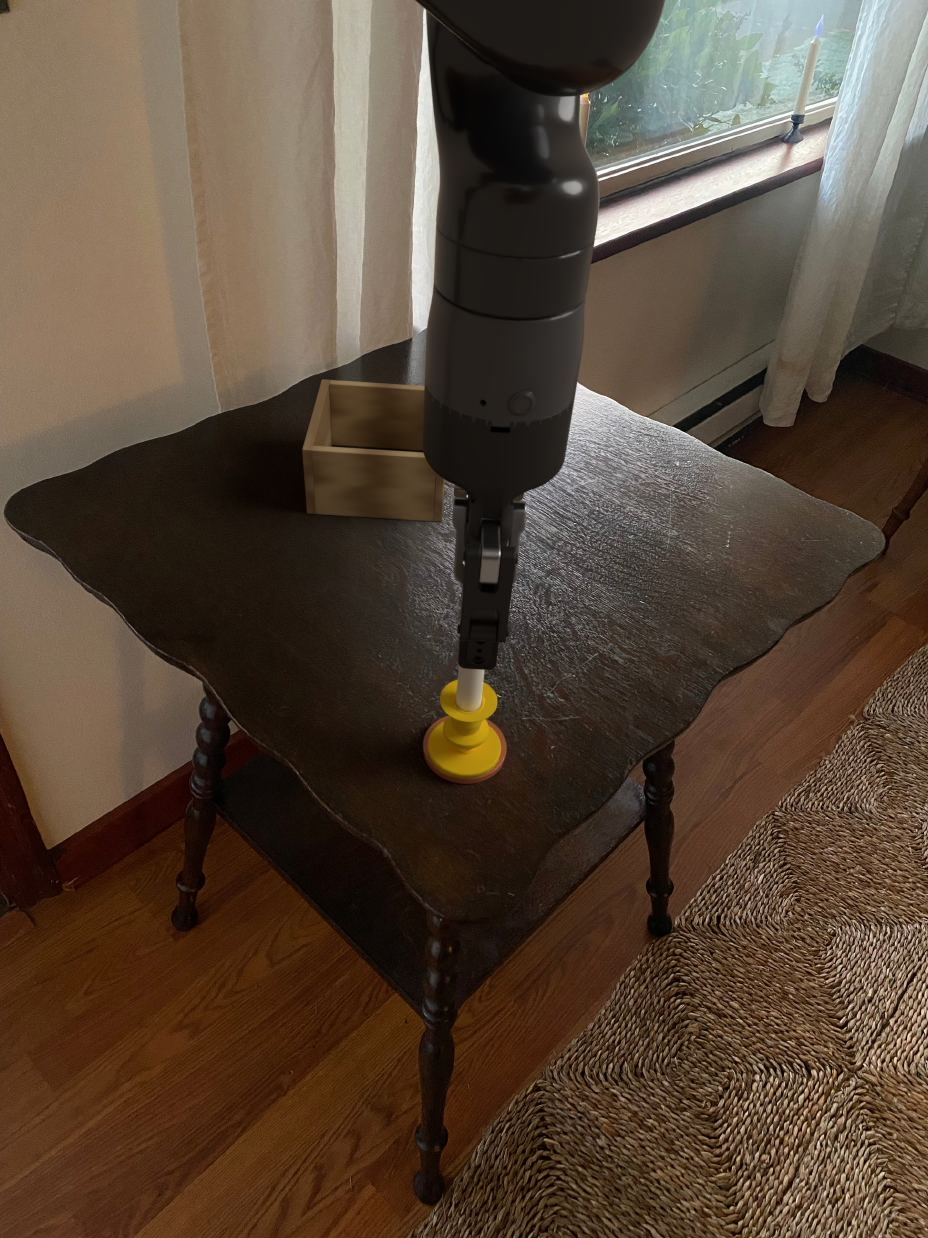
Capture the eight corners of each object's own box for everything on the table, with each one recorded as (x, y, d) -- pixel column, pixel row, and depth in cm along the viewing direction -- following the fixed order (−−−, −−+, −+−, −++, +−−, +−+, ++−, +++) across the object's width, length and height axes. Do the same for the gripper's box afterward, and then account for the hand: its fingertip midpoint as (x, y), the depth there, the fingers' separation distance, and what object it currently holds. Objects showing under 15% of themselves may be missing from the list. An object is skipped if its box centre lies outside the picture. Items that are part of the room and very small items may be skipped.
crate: (306, 513, 83) (302, 449, 79) (325, 440, 93) (321, 378, 88) (441, 522, 84) (445, 458, 79) (446, 448, 93) (450, 387, 88)
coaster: (420, 782, 62) (420, 776, 62) (425, 715, 67) (425, 710, 66) (506, 786, 62) (507, 781, 62) (505, 720, 67) (506, 715, 66)
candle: (422, 724, 65) (430, 559, 54) (493, 718, 66) (513, 554, 55) (432, 783, 61) (442, 618, 51) (506, 775, 62) (532, 612, 52)
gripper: (432, 308, 49) (423, 539, 60) (416, 450, 39) (409, 698, 50) (567, 317, 49) (534, 546, 61) (588, 461, 39) (542, 706, 50)
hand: (477, 615), depth 55 cm, fingers open, 8 cm apart
